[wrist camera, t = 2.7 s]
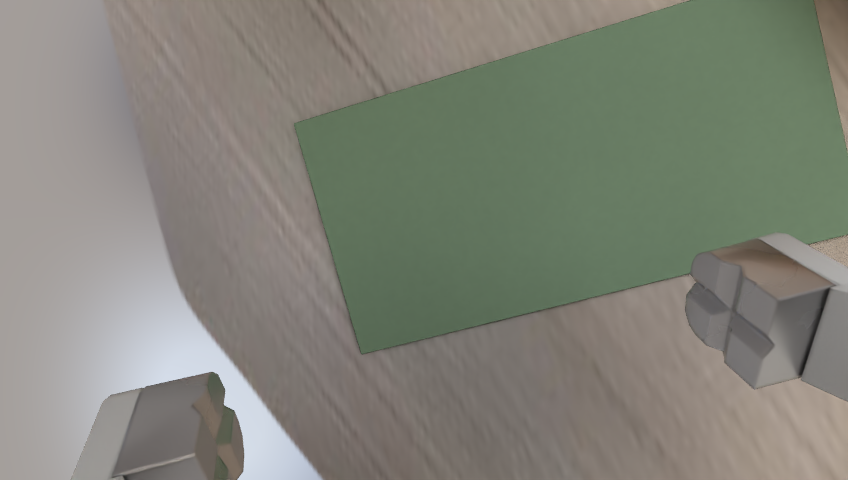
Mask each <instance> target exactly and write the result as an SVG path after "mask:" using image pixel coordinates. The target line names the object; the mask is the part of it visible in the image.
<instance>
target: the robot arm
mask: <svg viewBox="0 0 848 480" xmlns="http://www.w3.org/2000/svg"><path fill="white" fill-rule="evenodd" d="M690 275H691V276H692V277H693V279H694V280H695V281H696V283H695V284H694V286H693V287H692V288H691V290H690V291H689V292H688V294H687V296H686V305H685V312H686V316H687V319H688V322H689V325H690V327H691V328H692V330H693V332H694V333H695V335H696V336H697V337H698V338H699V339H700V340H701V341H702V342H703V343H704V344H705V345H707V346H710V347H712V348H715V349H718V350H721V351H723V354H724V362H725V363H726V364H727V365H728V366H729V367H730V368H731V369H732V370H733V371H734V372H736V373H737V374H738V375H739V376H740V377H741V378H742V379H743V380H744V381H745V382H746V383H747V384H749V385H750V386H751V387H752V388H753V389H758V388H762V387H766V386H770V385H774V384H777V383H781V382H785V381H789V380H793V379H797V378H801V380H802V381H804V382H806V383H808V384H810V385H812V386H815V387H817V388H819V389H821V390H823V391H825V392H828V393H830V394H832V395H834V396H836V397H839V398H841V399H843V400H845V401H847V402H848V267H846V266H845V265H843V264H841V263H839V262H837V261H835V260H834V259H832V258H830V257H828V256H826V255H825V254H823V253H821V252H819V251H817V250H816V249H814V248H812V247H810V246H808V245H807V244H805V243H803V242H801V241H799V240H798V239H796V238H794V237H792V236H790V235H788V234H784V233H778V232H775V233H772V234H768V235H764V236H760V237H757V238H753V239H750V240H749V241H745V242H741V243H737V244H733V245H729V246H725V247H721V248H717V249H713V250H709V251H705V252H701V253H697V255H696V256H695V258H694V259H693V261H692V265H691V270H690ZM224 397H225V388H224V386H223V384H222V382H221V380H220V378H219V376H218V374H215V373H214V372H209V373H205V374H201V375H196V376H191V377H187V378H182V379H178V380H173V381H169V382H165V383H160V384H156V385H151V386H146V387H145V388H139V389H135V390H131V391H126V392H122V393H118V394H113V395H110V396H109V397H108V398H107V399H105V400H104V401H103V403H102V405H101V407H100V410H99V412H98V415H97V417H96V419H95V422H94V425H93V427H92V429H91V432H90V434H89V437H88V439H87V441H86V444H85V446H84V449H83V451H82V454H81V456H80V459H79V461H78V463H77V466H76V468H75V471H74V473H73V476H72V478H71V480H237V479H238V478H239V476H240V475H241V474H242V472H243V467H244V448H243V438H242V432H241V429H240V425H239V421H238V419H237V417H236V414H235V412H234V410H232V409H230V408H228V407H226V406H224Z"/></svg>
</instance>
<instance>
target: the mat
mask: <svg viewBox="0 0 848 480" xmlns="http://www.w3.org/2000/svg"><path fill="white" fill-rule="evenodd" d="M294 126H295V130H296V133H297V136H298V140H299V143H300V147H301V150H302V154H303V157H304V160H305V164H306V167H307V171H308V174H309V177H310V181H311V184H312V188H313V191H314V194H315V198H316V201H317V205H318V208H319V212H320V215H321V218H322V222H323V225H324V229H325V232H326V235H327V239H328V242H329V246H330V249H331V252H332V256H333V259H334V263H335V266H336V270H337V273H338V276H339V280H340V283H341V287H342V290H343V293H344V297H345V300H346V304H347V307H348V310H349V314H350V317H351V321H352V324H353V328H354V331H355V334H356V338H357V341H358V345H359V348H360V351H361V354H365V353H369V352H373V351H377V350H381V349H385V348H389V347H393V346H397V345H401V344H405V343H409V342H414V341H418V340H422V339H426V338H430V337H434V336H438V335H442V334H446V333H450V332H454V331H458V330H462V329H466V328H470V327H474V326H478V325H483V324H487V323H491V322H495V321H499V320H503V319H507V318H511V317H515V316H519V315H523V314H527V313H531V312H535V311H539V310H543V309H547V308H552V307H556V306H560V305H564V304H568V303H572V302H576V301H580V300H584V299H588V298H592V297H596V296H600V295H604V294H608V293H612V292H616V291H621V290H625V289H629V288H633V287H637V286H641V285H645V284H649V283H653V282H657V281H661V280H665V279H669V278H673V277H677V276H681V275H686V274H690V270H691V265H692V261H693V259H694V258H695V256H696V255H697V253H701V252H705V251H709V250H713V249H717V248H721V247H725V246H729V245H733V244H737V243H741V242H745V241H749V240H750V239H753V238H757V237H760V236H764V235H768V234H772V233H775V232H778V233H784V234H788V235H790V236H792V237H794V238H796V239H798V240H799V241H801V242H803V243H805V244H811V243H815V242H819V241H824V240H828V239H832V238H836V237H840V236H844V235H848V153H847V148H846V144H845V139H844V135H843V130H842V126H841V121H840V117H839V112H838V108H837V103H836V99H835V94H834V90H833V85H832V81H831V76H830V72H829V67H828V63H827V58H826V54H825V49H824V45H823V40H822V36H821V31H820V27H819V22H818V18H817V13H816V9H815V4H814V0H690V1H687V2H683V3H680V4H677V5H674V6H671V7H667V8H664V9H661V10H658V11H654V12H651V13H648V14H645V15H642V16H638V17H635V18H632V19H629V20H625V21H622V22H619V23H616V24H613V25H609V26H606V27H603V28H600V29H596V30H593V31H590V32H587V33H584V34H580V35H577V36H574V37H571V38H567V39H564V40H561V41H558V42H555V43H551V44H548V45H545V46H542V47H538V48H535V49H532V50H529V51H526V52H522V53H519V54H516V55H513V56H509V57H506V58H503V59H500V60H497V61H493V62H490V63H487V64H484V65H480V66H477V67H474V68H471V69H468V70H464V71H461V72H458V73H455V74H452V75H448V76H445V77H442V78H439V79H435V80H432V81H429V82H426V83H423V84H419V85H416V86H413V87H410V88H406V89H403V90H400V91H397V92H394V93H390V94H387V95H384V96H381V97H377V98H374V99H371V100H368V101H365V102H361V103H358V104H355V105H352V106H348V107H345V108H342V109H339V110H336V111H332V112H329V113H326V114H323V115H319V116H316V117H313V118H310V119H307V120H303V121H300V122H297V123H294Z"/></svg>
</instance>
